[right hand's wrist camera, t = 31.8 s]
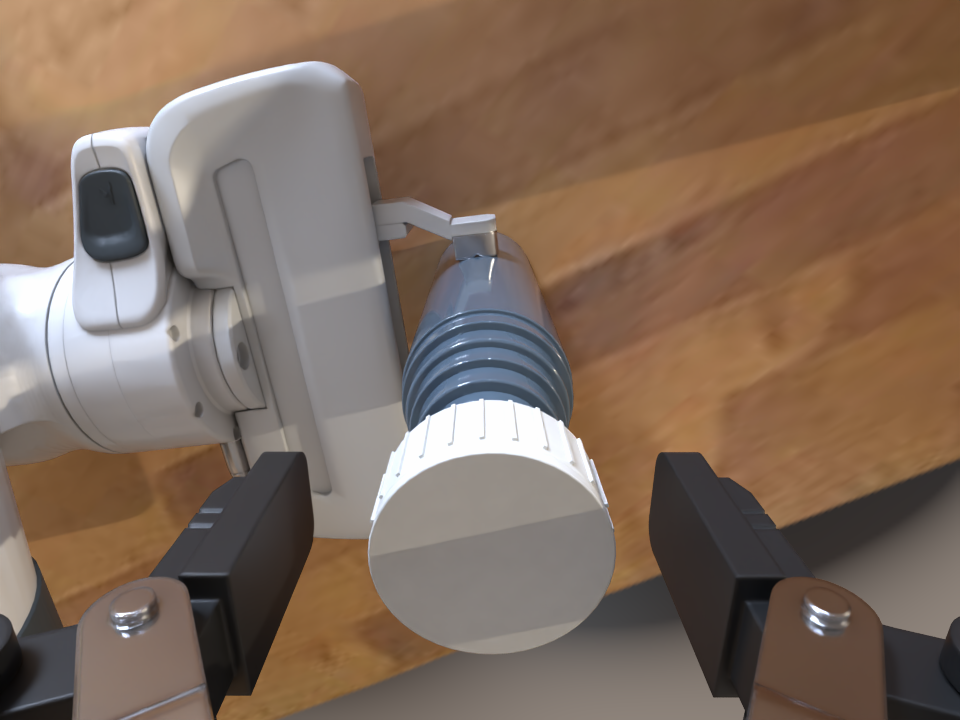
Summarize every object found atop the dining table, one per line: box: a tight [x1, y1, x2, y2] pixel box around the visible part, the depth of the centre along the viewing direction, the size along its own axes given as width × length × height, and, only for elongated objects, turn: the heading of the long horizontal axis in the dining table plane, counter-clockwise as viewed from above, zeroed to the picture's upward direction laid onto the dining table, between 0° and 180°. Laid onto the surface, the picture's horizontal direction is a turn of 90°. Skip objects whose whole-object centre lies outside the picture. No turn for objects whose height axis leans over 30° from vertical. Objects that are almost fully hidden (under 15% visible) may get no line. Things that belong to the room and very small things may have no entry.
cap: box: [368, 399, 616, 654], centre depth 11 cm, size 4×4×2 cm
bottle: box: [402, 233, 574, 432], centre depth 21 cm, size 5×5×21 cm
